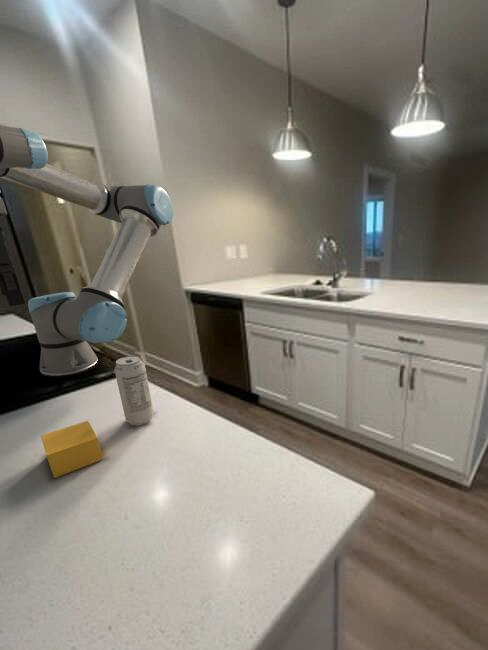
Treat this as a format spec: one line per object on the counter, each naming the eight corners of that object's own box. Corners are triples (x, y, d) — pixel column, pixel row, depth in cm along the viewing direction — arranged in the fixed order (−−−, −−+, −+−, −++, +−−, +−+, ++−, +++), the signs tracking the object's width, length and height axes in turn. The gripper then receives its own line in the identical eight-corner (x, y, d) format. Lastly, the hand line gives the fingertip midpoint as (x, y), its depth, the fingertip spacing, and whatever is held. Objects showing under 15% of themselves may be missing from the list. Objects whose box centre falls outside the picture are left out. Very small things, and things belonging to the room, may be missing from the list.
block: (48, 456, 67) (40, 435, 66) (93, 440, 72) (87, 420, 70) (54, 478, 62) (46, 455, 60) (103, 459, 67) (97, 437, 65)
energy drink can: (150, 410, 84) (139, 353, 78) (157, 421, 79) (146, 361, 74) (123, 418, 80) (110, 359, 75) (129, 430, 76) (115, 367, 70)
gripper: (-48, 196, 75) (-12, 293, 84) (-48, 191, 58) (-4, 313, 67) (-4, 197, 80) (25, 288, 88) (8, 193, 63) (43, 306, 71)
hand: (13, 299), depth 78 cm, fingers open, 13 cm apart
